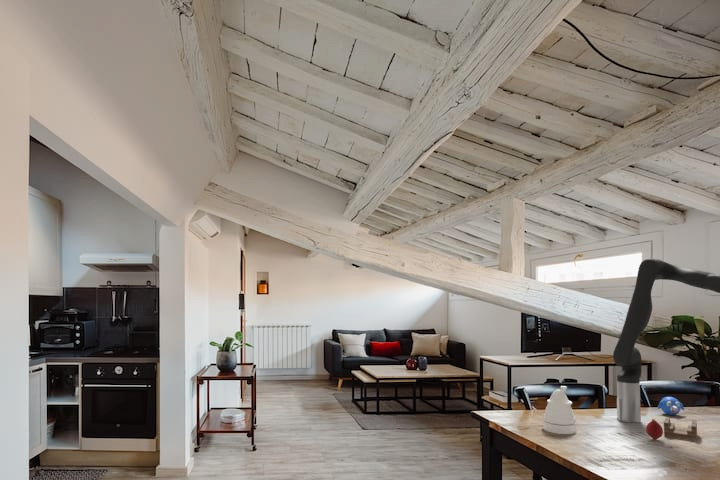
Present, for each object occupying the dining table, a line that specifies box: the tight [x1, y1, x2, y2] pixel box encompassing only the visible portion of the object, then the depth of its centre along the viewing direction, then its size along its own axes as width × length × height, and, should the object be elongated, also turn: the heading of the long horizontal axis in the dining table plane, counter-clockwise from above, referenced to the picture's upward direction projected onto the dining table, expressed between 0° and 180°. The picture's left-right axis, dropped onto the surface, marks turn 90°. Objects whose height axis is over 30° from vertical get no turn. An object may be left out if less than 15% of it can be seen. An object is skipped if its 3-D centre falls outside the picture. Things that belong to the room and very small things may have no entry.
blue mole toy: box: [657, 396, 685, 416], centre depth 253 cm, size 12×12×8 cm
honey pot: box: [542, 385, 577, 435], centre depth 222 cm, size 13×13×18 cm
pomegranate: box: [645, 418, 664, 441], centre depth 209 cm, size 6×6×8 cm
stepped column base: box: [663, 416, 698, 442], centre depth 216 cm, size 12×11×6 cm
